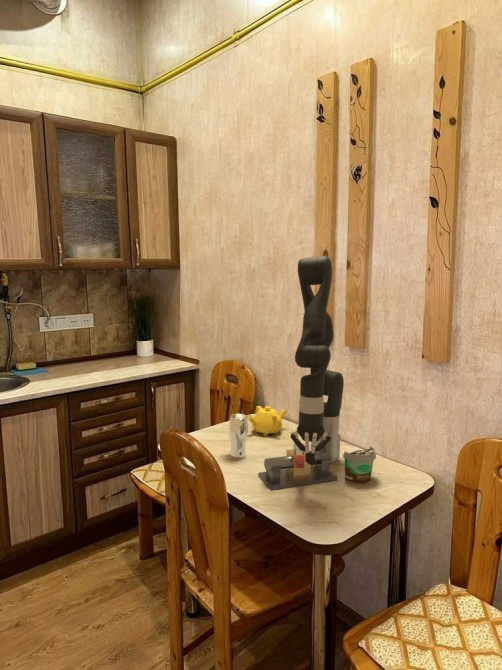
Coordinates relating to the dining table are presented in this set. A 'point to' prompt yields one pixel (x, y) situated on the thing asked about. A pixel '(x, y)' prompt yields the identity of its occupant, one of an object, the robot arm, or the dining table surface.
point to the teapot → (267, 420)
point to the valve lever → (298, 457)
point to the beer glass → (238, 434)
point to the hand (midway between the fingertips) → (309, 463)
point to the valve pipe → (296, 471)
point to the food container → (359, 465)
